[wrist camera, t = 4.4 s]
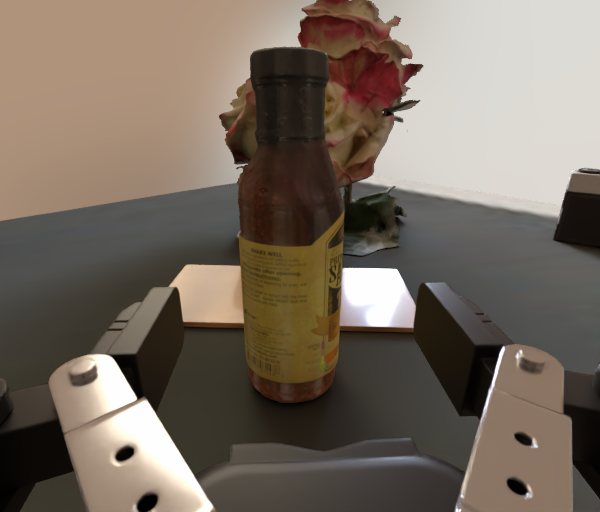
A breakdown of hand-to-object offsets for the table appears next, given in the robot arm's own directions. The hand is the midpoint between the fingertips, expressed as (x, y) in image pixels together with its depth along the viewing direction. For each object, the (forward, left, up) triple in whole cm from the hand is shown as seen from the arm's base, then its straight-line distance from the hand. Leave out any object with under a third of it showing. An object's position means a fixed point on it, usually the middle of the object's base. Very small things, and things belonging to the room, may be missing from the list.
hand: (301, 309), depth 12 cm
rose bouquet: (+1, +42, -11) cm, 43 cm away
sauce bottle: (-1, +10, -11) cm, 15 cm away
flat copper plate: (-2, +21, -11) cm, 24 cm away
